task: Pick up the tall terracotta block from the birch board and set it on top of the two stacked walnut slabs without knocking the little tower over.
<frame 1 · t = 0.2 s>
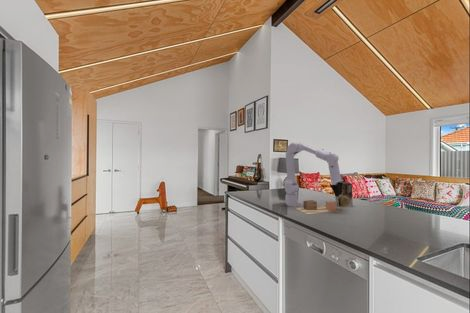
hand: (338, 195, 149), 10 cm above the worktop, tool pointing down, fingers open, 7 cm apart
block: (331, 209, 152), point 1 cm above the worktop, touching board
slab high: (310, 205, 156), point 3 cm above the worktop, touching slab low
slab low: (310, 208, 156), point 1 cm above the worktop, touching board, slab high
coffee box: (343, 207, 162), on the worktop
board: (316, 210, 155), on the worktop
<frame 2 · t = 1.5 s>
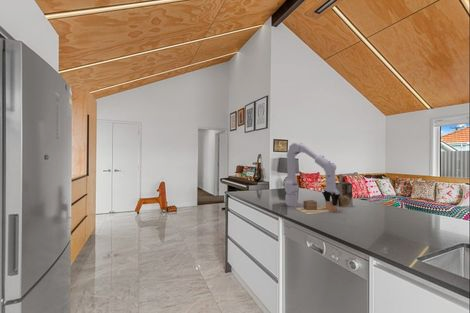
hand: (331, 204, 152), 4 cm above the worktop, tool pointing down, fingers open, 7 cm apart
nothing on the worktop moved.
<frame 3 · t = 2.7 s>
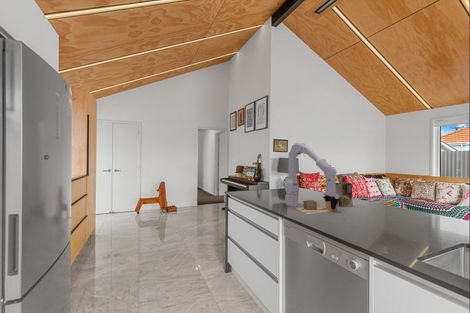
hand: (331, 208, 152), 2 cm above the worktop, tool pointing down, fingers closed on block, 4 cm apart
block: (331, 209, 152), point 1 cm above the worktop, touching board, gripper
everything else where it was.
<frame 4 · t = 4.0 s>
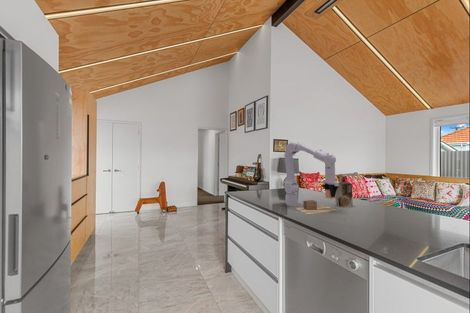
hand: (330, 196, 152), 9 cm above the worktop, tool pointing down, fingers closed on block, 4 cm apart
block: (330, 197, 152), point 8 cm above the worktop, touching gripper
everything else where it was.
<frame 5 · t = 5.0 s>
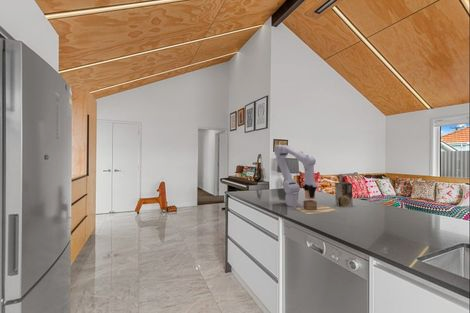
hand: (309, 197, 156), 9 cm above the worktop, tool pointing down, fingers closed on block, 4 cm apart
block: (310, 198, 156), point 8 cm above the worktop, touching gripper
everything else where it was.
when the fingers open (8 cm above the worktop, at t = 5.6 s): block moves 1 cm, resting on slab high.
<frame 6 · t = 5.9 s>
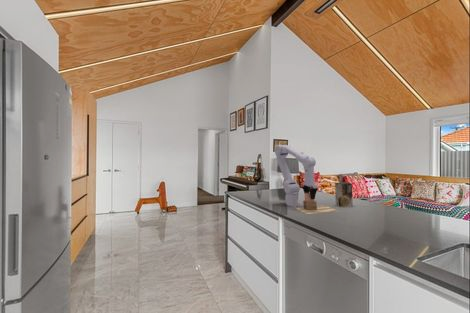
hand: (309, 198, 156), 8 cm above the worktop, tool pointing down, fingers open, 7 cm apart
block: (309, 201, 156), point 6 cm above the worktop, touching slab high
slab high: (309, 205, 156), point 3 cm above the worktop, touching block, slab low
everything else where it was.
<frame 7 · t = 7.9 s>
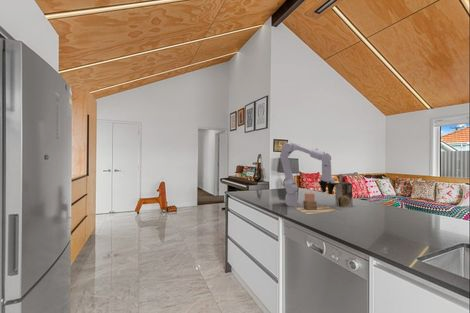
hand: (327, 193, 158), 10 cm above the worktop, tool pointing down, fingers open, 7 cm apart
nothing on the worktop moved.
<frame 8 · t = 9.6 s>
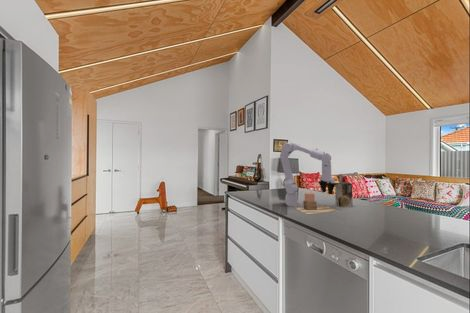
hand: (327, 193, 158), 10 cm above the worktop, tool pointing down, fingers open, 7 cm apart
nothing on the worktop moved.
at the end: block 0.1 cm off-centre on the slab high, point 2.5 cm above the slab high's base; slab high moved 0.2 cm from its start; slab low moved 0.0 cm from its start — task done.
